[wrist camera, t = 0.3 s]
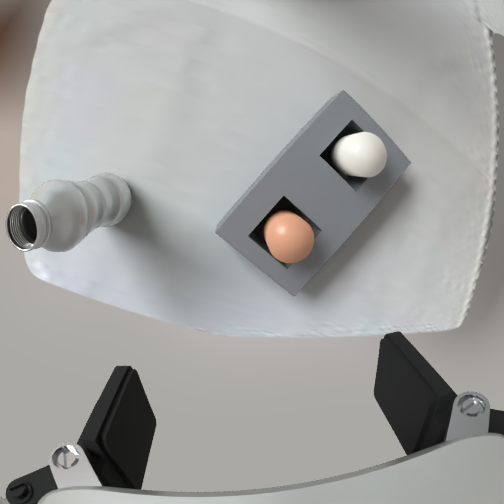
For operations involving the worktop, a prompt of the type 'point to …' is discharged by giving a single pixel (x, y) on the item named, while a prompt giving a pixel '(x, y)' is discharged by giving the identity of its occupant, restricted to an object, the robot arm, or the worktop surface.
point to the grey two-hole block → (312, 193)
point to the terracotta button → (288, 236)
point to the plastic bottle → (67, 212)
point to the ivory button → (359, 155)
